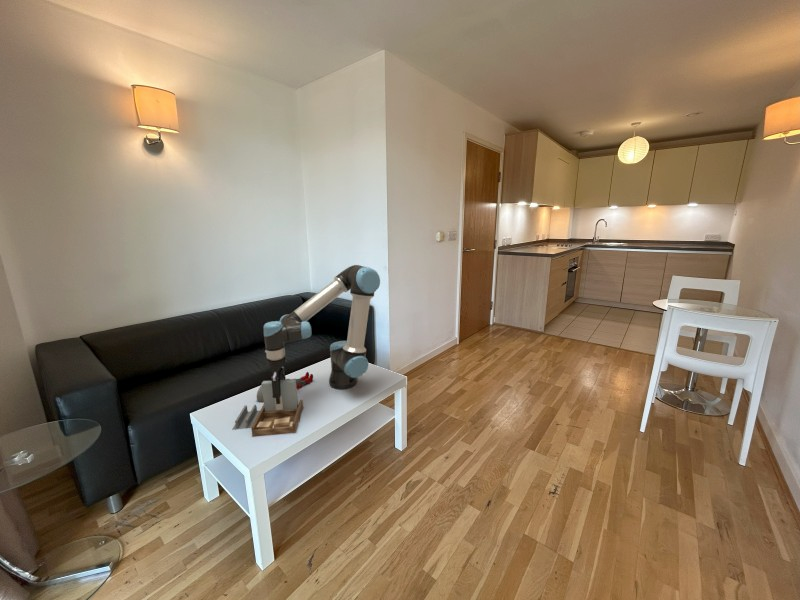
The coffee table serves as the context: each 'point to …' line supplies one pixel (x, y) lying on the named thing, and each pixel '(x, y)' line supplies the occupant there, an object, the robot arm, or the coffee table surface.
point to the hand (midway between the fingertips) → (281, 404)
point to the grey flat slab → (286, 391)
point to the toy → (299, 382)
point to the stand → (246, 418)
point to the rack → (274, 415)
